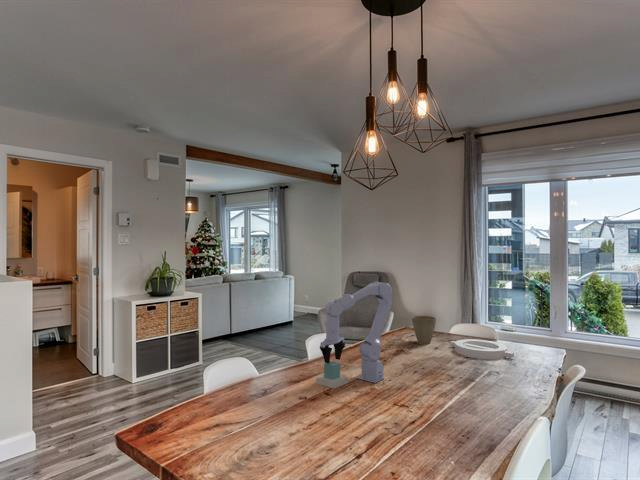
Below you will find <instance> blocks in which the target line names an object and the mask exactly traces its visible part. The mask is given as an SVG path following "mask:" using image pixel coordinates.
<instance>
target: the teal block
mask: <svg viewBox="0 0 640 480" xmlns="http://www.w3.org/2000/svg"><path fill="white" fill-rule="evenodd" d="M323 364H324V365H323V375H324V378H328V379H332V380H334V379H336V378H339V377H340V375H341V363H340V362H336V361H332V360H330V362H329V363H325V362H324V363H323Z"/></svg>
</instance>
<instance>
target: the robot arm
mask: <svg viewBox="0 0 640 480" xmlns="http://www.w3.org/2000/svg"><path fill="white" fill-rule="evenodd" d="M393 292H394V290H393V288H392V286H391V284H389V283H388V282H380V281H373V282H371V283H369V284H368V285H366V286H364V287H362V288H361V289H360V290H358V291H356V292H354V293H353V294H350V293H348V294H346V293H343V294H342V296H341V297H339V298H337V299H334V300H333V301H330V302H327V303H326V304H325V306H324V309H323V311H324V313H325V314H326V321H325V322H326V323H325V324H326V327H325V328H326V329H325V331H326V332H325V333H326V335H325V338H324V340H323V341H321V342H320V344H319V349H320V351H321V353H322V356H323V360H324V363H329V362H330V361H331V354H332V350H333V349H334V358H335V360H339V361H340V360H341V357H342V353H343V350H344V348H345V347H346V342H345V337H344V336H340V316H341V314H342V313H343V312H344V311H346V310H348V309H350V308H352V307H353V306H355V303H356V302H357V301H359V300H362V299H364V298H366V297H368V296H370V295H371V296H374V297H375V298H376V299H377V301H378V303H379V304H378V307H377V310H376V313H375V316H374V319H373V321H372V325H371V328H370V331H369V332H368V336H366V337H365V338H364V339H363V342H362V343H361V344H360V345H359V347H358V349H359V350H358V351H359V353H360V354H361V375H360V376H357V379H358V380H362V381H366V382H370V383H374V384H376V383H378V382H380V381H382V380H384V379H385V377H384V363H383V361H381V360H379V358H380V356H381V352H382V351H381V348H382V344H381V338H382V335H383V331H384V329H385V326H386V323H387V320H388V316H389V314H390V311H391V308H392V306H393ZM332 345H333V348H332V347H330V346H332Z"/></svg>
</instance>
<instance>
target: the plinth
mask: <svg viewBox="0 0 640 480" xmlns="http://www.w3.org/2000/svg"><path fill="white" fill-rule="evenodd" d="M348 383H349V376H346V375H342V374H340V377H339V378H336V379H334V380H332V379H328V378H324V374H322V375H319V376H317V377H315V384H317V385H321V386H324V387H327V388H331V389H337V388H339V387H341V386H344V385H346V384H348Z"/></svg>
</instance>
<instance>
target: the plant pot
mask: <svg viewBox="0 0 640 480" xmlns="http://www.w3.org/2000/svg"><path fill="white" fill-rule="evenodd" d="M411 320H412V326H413V330H414V334H415V337H416V340H417V343H418V344H420V343H421V344H422V345H430V344H431V342H432V339H433V337H434V336H433V335H434V333H435V329H436V323H437V317H435V316H432V315H431V316H430V315H413V316H412V317H411Z"/></svg>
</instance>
